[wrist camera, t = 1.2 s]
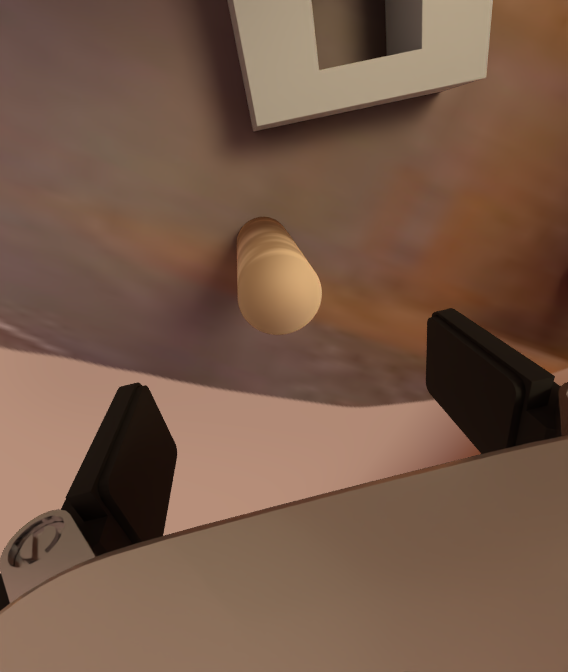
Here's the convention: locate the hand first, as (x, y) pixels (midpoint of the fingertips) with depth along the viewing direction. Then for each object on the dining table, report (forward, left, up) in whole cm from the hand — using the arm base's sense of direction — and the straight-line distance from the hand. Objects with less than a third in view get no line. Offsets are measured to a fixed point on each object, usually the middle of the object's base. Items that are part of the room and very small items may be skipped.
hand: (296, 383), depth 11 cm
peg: (0, 0, -19) cm, 19 cm away
